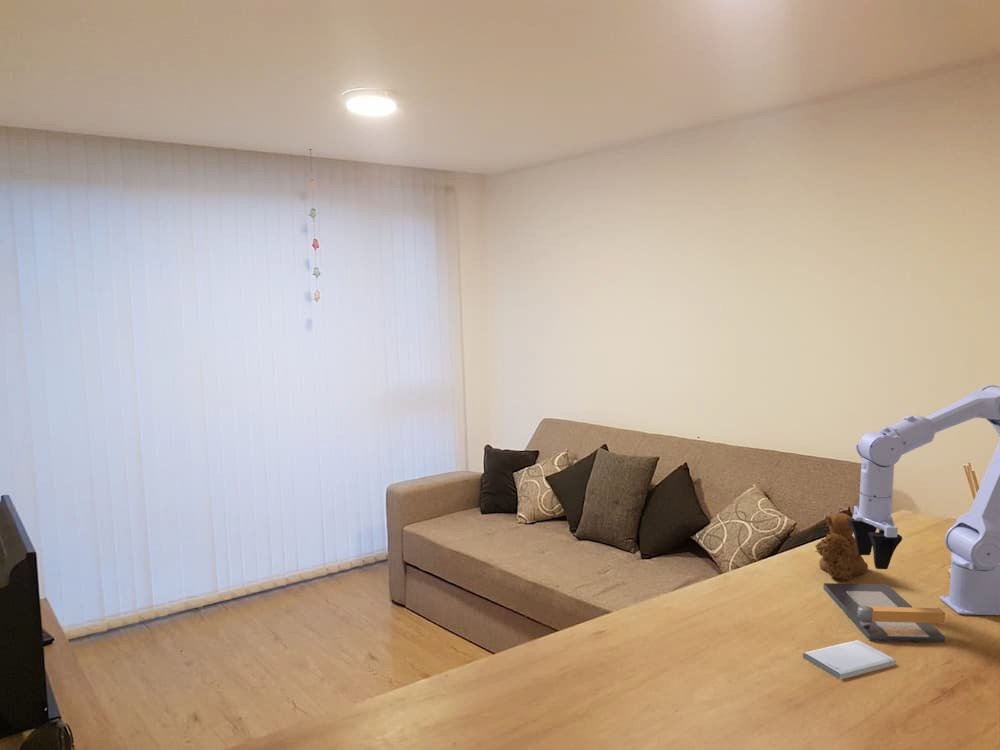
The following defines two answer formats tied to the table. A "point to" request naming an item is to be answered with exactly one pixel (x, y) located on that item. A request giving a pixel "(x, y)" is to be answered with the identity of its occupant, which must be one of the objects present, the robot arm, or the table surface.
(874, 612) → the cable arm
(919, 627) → the psu panel
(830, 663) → the hard drive
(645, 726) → the table surface
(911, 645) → the table surface
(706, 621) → the table surface
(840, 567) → the stuffed squirrel
